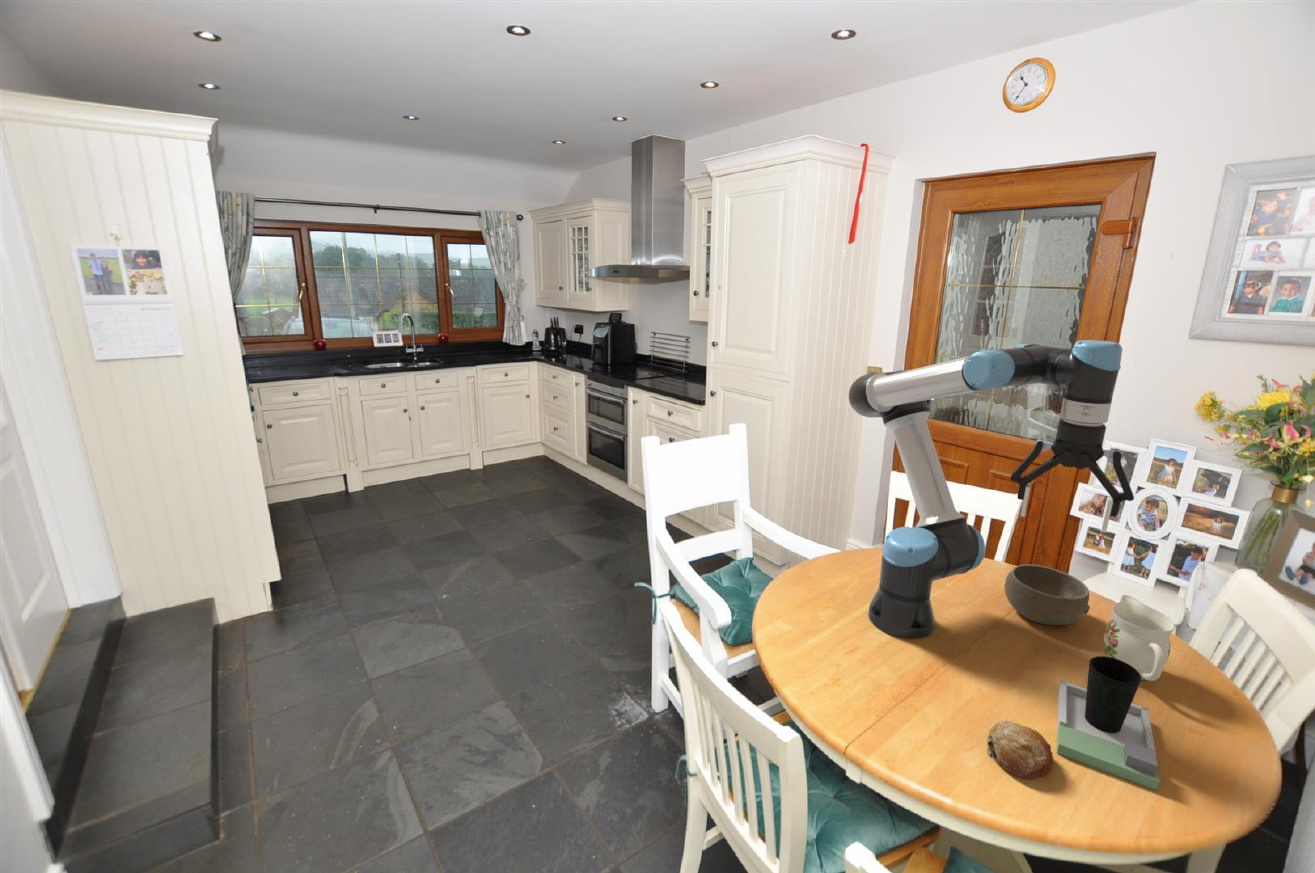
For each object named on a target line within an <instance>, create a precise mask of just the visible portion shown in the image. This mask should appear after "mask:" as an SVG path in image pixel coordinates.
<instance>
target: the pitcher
mask: <svg viewBox="0 0 1315 873" xmlns="http://www.w3.org/2000/svg"><path fill="white" fill-rule="evenodd" d="M1175 628H1176V626H1175V623H1174V622H1173V620H1172V619H1171V618H1169V617H1168V616H1166V614H1164V613H1162V612H1160V611H1158V610H1157V609H1155V608H1153V607H1151V606H1150V605H1149V606H1148V605H1146V604H1144V602H1142V601H1140V600H1138V599H1137V598H1135V597H1134V596H1131V595H1128V594H1124V595H1122V596H1121V598H1120V601H1119V602H1117V603H1115V604H1114V605H1113V606H1112V617H1111V619H1110V620H1109V622H1108V623H1107V625H1106V627H1105V630H1104V633H1103V649H1104V654H1105V655H1104V656H1105V657H1111V658H1115V659H1118V660H1121V661H1123V662H1125V663H1127V664H1129V665H1131V666H1132V667H1133V668H1135V669H1136V670H1137V671H1138V672H1139V673H1140V675H1141V681H1143V680H1146V681H1151V682H1153V681H1156V680H1158V679H1159V678H1160V677H1161V675H1162V672H1163V670H1164V669H1163V668H1164V665H1166V663H1167V661H1168V659H1169V656H1170V652H1171V639H1170V636H1171V634H1172V633H1173V631H1174V630H1175Z"/></svg>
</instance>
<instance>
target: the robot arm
mask: <svg viewBox="0 0 1315 873" xmlns="http://www.w3.org/2000/svg"><path fill="white" fill-rule="evenodd" d="M1122 354H1123V347H1122V345H1121V344H1119V343H1118V342H1116V341H1108V340H1094V339H1093V340H1092V339H1086V340H1085V339H1081V340H1077V341H1076V342H1074V345H1073V348H1064V347H1063V348H1062V347H1055V346H1048V345H1040V344H1036V343H1034V344H1033V343H1032V344H1030V343H1021V344H1017V345H1015V346H1014V347H1013V348H1002V349H999V348H998V349H996V348H990V349H985V350H980V351H977V352H974V353H972V354H971V355H967V356H963V357H960V358H955V359H950V360H946V361H941V362H939V363H934V364H930V365H926V366H922V367H918V368H917V367H916V368H914V369H908V370H906V369H905V370H904V369H903V370H901V369H900V370H897V371H887V372H878V373H877V372H875V373H872V372H871V373H867V374H864V375H862V376H859V377H858V378H856V380H854V381H853V383H852V384H851V385H850V388H849V390H848V402H849V404H850V406H851V408H852V409H853V411H854V412H856V413H857V414H858V415H860V416H862V417H866V418H872V419H873V418H881V419H882V422H883V425H884V427H885V428H887V429H889V430H890V431H892V434H893V437H894V440H895V443H896V446H897V450H898V453H899V457H900V459H901V462H902V465H903V466H902V467H903V468H904V472H905V475H906V477H907V481H908V485H909V487H910V488H909V489H910V491H911V494H912V497H913V499H914V500H913V501H914V504H915V507H916V509H917V510H916V511H917V513H918V516H919V521H918V522H917V524H916V525H915V526H913V527H910V526H901V527H897V528H895V529H893V530H891V531H889V532H888V533H887V535H886V536H885V539H884V544H883V546H882V557H881V558H882V559H881V566H880V574H879V575H880V576H879V583H878V584H879V585H878V588H877V591H876V592H875V594H874V596H873V597H872V600H871V601H870V603H869V606H868V619H869V620H870V622H871V623H872V624H873V625H874V626H875V627H877V628H878V629H879V630H881V631H883V632H885V633H887V634H889V635H892V636H895V637H899V638H906V639H922V638H926V637H928V636H930V634H932V633H933V631H934V626H935V616H934V612H933V606H932V602H931V592H932V586H933V582H935V581H938V580H942V579H945V578H949V577H953V576H956V575H961V574H966V573H968V572H969V571H972V570H975V569H976V568H978V567H979V566H980V565H981V563H982V561H983V560H984V557H985V556H986V555H985V554H986V544H985V541H984V537H983V535H982V534H981V532H980V531H979V530H978V529H976V528H975V526H973V525H971V524H969V523H968V522H967V519H966V517H965V515H963V514H962V513H960V512H959V511H957V510H956V507H955V504H954V500H953V498H952V495H951V492H950V489H949V486H948V483H947V480H946V477H945V474H944V471H943V468H942V465H941V462H940V459H939V456H938V453H937V450H936V447H935V443H934V441H933V438H932V435H931V431H930V428H929V426H928V425H929V424H928V423H927V420H928V419H929V417H930V415H931V412H930V409H929V408H930V407H931V406H932V403H933V400H935V399H941V398H946V397H952V396H958V395H963V394H965V395H966V394H969V393H975V392H981V391H983V392H984V391H988V390H995V389H1000V388H1007V387H1018V386H1024V385H1025V386H1026V385H1033V384H1042V385H1047V386H1048V385H1050V386H1054V387H1055V386H1056V387H1060V388H1065V389H1064V395H1063V400H1062V405H1061V411H1060V415H1059V416H1060V417H1061V418H1062V419H1060V420H1058V426H1057V430H1056V435H1055V439H1054V441H1053V442H1049V441H1045V440H1043V438H1037V440H1036V441H1035V445H1034V448H1033V449H1032V450H1031V451H1030V453H1028V455H1027V456H1026V457H1025V458H1024V459H1023V461H1021V462H1020V464H1019V465H1018V466H1017V467H1016V468H1015V470H1013V472H1012V473H1011V476H1010V481H1012V482H1015V483H1017V484H1018V486H1019V487H1018V490H1017V491H1018V492H1017V500H1021V501H1022V507H1021V510H1020V517H1022V518H1023V517H1025V516H1026V511H1027V506H1028V500H1029V496H1030V491H1031V484H1032V482H1033V481H1034V480H1036V479H1037V478H1039V477H1040V476H1043V475H1044V474H1045V473H1047V472H1048V471H1050V470H1051V469H1053V468H1055V467H1057V466H1058V465H1061V466H1063V467H1065V468H1075V469H1078V470H1085V469H1087V468H1088V469H1089V470H1090V472H1091V473H1092V474H1093V475H1094V476H1095V478H1096V479H1097V480H1098V481H1099V483H1100V484H1101V485H1102V487H1103V488H1104V490H1105V491H1106V492H1107V494H1108V495H1109V496H1107V498H1106V500H1105V502H1106V503H1105V506H1104V511H1103V515H1102V519H1101V524H1100V533H1105V534H1106V533H1107V529H1108V526H1109V522H1110V521H1109V520H1110V517H1114V518H1116V517H1117V516H1118V514H1119V508H1120V505H1121V503H1122V502H1126V501H1128V502H1132V501H1134V500H1135V496H1134V493H1133V490H1132V488H1131V485H1130V483H1129V480H1128V477H1127V475H1126V472H1125V470H1124V468H1123V465H1122V452H1121V450H1120V449H1119V448H1114V449H1111V450H1110V449H1103V445H1104V444H1103V443H1104V439H1105V434H1106V431H1107V425H1105V424H1106V423H1108V421H1109V416H1110V412H1111V406H1112V401H1113V396H1114V391H1115V388H1116V384H1117V380H1118V376H1119V371H1120V370H1121V360H1122ZM1048 449H1050V451H1051V452H1052V453H1053V456H1051V457H1049V459H1047V460H1046V461H1045V462H1043V463H1042V464H1040V465H1038V466H1037V467H1035V468H1034V469H1033V470H1031V471H1030V472H1028V473H1027V474H1025V475H1023V473H1025V471H1026V470H1027V469H1028V468H1029V467H1030V466H1031V465H1032V464H1033V462H1034V461H1035V460H1036V459H1037V458H1039V456H1040V454H1041V453H1044V452H1046V451H1047V450H1048ZM1103 457H1105V458H1107V460H1108V462H1111V463H1112V466H1113V468H1114V471H1115V474H1116V476H1117V479H1118V481H1119V482H1118V483H1119V484H1120V487H1121V489H1122V492H1119V491H1118V490H1117V488H1116V487H1115V486H1114V484H1113V482H1111V480H1110V478H1108V476H1107V475H1106V474H1105V472H1104V471H1103V470H1102V468H1101V467H1100V466H1099V464H1098V463H1097V462H1098V460H1100V459H1102V458H1103ZM1022 475H1023V476H1022Z"/></svg>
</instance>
